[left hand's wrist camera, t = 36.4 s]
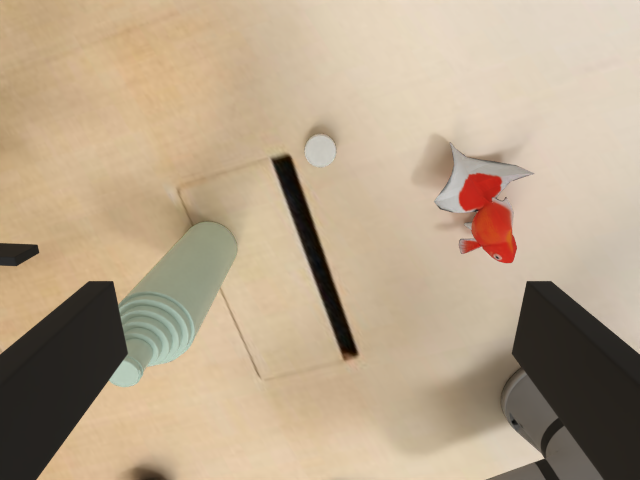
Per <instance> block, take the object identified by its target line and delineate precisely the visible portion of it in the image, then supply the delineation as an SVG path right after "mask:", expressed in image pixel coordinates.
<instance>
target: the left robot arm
mask: <svg viewBox="0 0 640 480" xmlns="http://www.w3.org/2000/svg"><path fill="white" fill-rule="evenodd" d="M127 355H128V350H127V345H126V341H125V336H124V331H123V326H122V321H121V317H120V312H119V307H118V302H117V297H116V293H115V288H114V283H113V281H89V282H87V283H86V284H85V285H84V286H83V287H81V288H80V289H79V290H78V291H77V292H75V293H74V294H73V295H72V296H71V297H69V298H68V299H67V300H66V301H64V302H63V303H62V304H61V305H60V306H58V307H57V308H56V309H55V310H54V311H52V312H51V313H50V314H49V315H48V316H46V317H45V318H44V319H43V320H41V321H40V322H39V323H38V324H37V325H35V326H34V327H33V328H32V329H31V330H29V331H28V332H27V333H26V334H25V335H23V336H22V337H21V338H20V339H18V340H17V341H16V342H15V343H14V344H12V345H11V346H10V347H9V348H8V349H6V350H5V351H4V352H3V353H2V354H0V480H36V479H37V478H38V477H39V475H40V474H41V473H42V471H43V470H44V468H45V467H46V466H47V464H48V463H49V462H50V460H51V459H52V457H53V456H54V455H55V453H56V452H57V451H58V449H59V448H60V446H61V445H62V444H63V442H64V441H65V440H66V438H67V437H68V435H69V434H70V433H71V431H72V430H73V429H74V427H75V426H76V424H77V423H78V422H79V420H80V419H81V418H82V416H83V415H84V414H85V412H86V411H87V409H88V408H89V407H90V405H91V404H92V403H93V401H94V400H95V398H96V397H97V396H98V394H99V393H100V392H101V390H102V389H103V387H104V386H105V385H106V383H107V382H108V381H109V379H110V378H111V376H112V375H113V374H114V372H115V371H116V370H117V368H118V367H119V366H120V364H121V363H122V361H123V360H124V359H125V357H126V356H127ZM512 355H513V356H514V357H515V359H516V360H517V361H518V363H519V364H520V366H521V367H522V368H520V369H519V370H518V371H517V372H516V373H515V374H514V375H512V377H511V378H510V379H509V380H508V382H507V383H506V385H505V387H504V389H503V392H502V396H501V406H502V410H503V413H504V415H505V416H506V418H507V420H508V422H509V423H510V425H511V426H512V427H513V428H514V429H515V430H516V431H517V432H518V433H519V434H520V435H521V436H522V437H523V438H525V439H526V440H527V441H528V442H529V443H530V444H531V445H533V446H534V447H535V448H536V449H537V450H538V451H539V452H541V453H542V455H543V456H544V458H545V459H542V460H540V461H537V462H534V463H531V464H528V465H525V466H523V467H520V468H517V469H514V470H511V471H509V472H506V473H503V474H500V475H498V476H495V477H492V478H489V479H486V480H640V354H638V353H637V352H636V351H635V350H634V349H632V348H631V347H630V346H629V345H628V344H626V343H625V342H624V341H623V340H622V339H620V338H619V337H618V336H617V335H615V334H614V333H613V332H612V331H611V330H609V329H608V328H607V327H606V326H605V325H603V324H602V323H601V322H600V321H599V320H597V319H596V318H595V317H594V316H592V315H591V314H590V313H589V312H588V311H586V310H585V309H584V308H583V307H582V306H580V305H579V304H578V303H577V302H576V301H574V300H573V299H572V298H571V297H569V296H568V295H567V294H566V293H565V292H563V291H562V290H561V289H560V288H559V287H557V286H556V285H555V284H554V283H553V282H551V281H527V283H526V288H525V293H524V297H523V302H522V307H521V312H520V317H519V321H518V326H517V331H516V336H515V341H514V345H513V350H512Z"/></svg>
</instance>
